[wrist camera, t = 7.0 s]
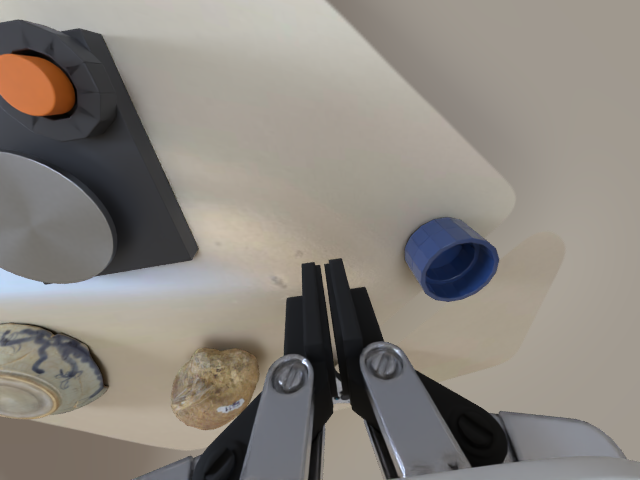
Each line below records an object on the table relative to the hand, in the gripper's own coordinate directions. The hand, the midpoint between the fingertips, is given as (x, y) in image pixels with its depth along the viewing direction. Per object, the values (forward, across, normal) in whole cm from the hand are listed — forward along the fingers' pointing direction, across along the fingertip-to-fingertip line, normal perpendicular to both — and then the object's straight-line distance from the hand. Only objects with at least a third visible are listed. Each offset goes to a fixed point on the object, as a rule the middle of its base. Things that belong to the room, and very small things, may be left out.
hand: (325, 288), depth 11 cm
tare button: (+10, +14, -9) cm, 19 cm away
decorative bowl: (+13, +34, +17) cm, 40 cm away
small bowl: (+13, -12, +8) cm, 19 cm away
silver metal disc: (+9, +19, -2) cm, 22 cm away
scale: (+13, +18, -4) cm, 22 cm away
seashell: (+13, +14, +20) cm, 28 cm away
